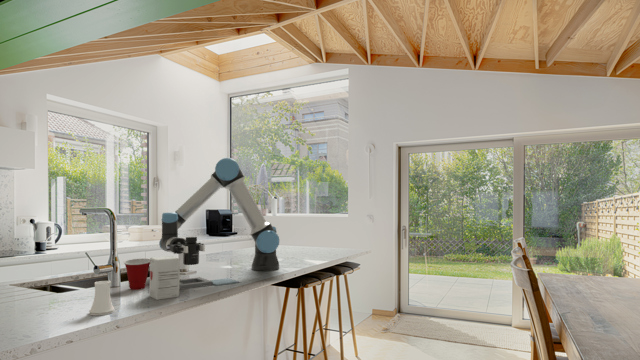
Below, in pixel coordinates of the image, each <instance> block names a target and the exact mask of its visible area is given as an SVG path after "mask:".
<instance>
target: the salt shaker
mask: <svg viewBox="0 0 640 360" xmlns="http://www.w3.org/2000/svg"><path fill="white" fill-rule="evenodd" d="M111 283H112V281H111V280H99V281H95V282H94V298H93V302H92V305H91V307H90V309H89V311H88V315H90V316H104V315H106V316H107V315H109V314H113V313H115V307H114V306H113V303H112V299H111Z"/></svg>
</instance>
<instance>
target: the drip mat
mask: <svg viewBox="0 0 640 360" xmlns="http://www.w3.org/2000/svg"><path fill="white" fill-rule="evenodd" d="M208 280H209V279H208ZM209 281H212V286H215V287H218V286H225V285H233V284H239V283H240V281H239V280H235V279H233V278H229V277H225V278H218V279H211V280H209Z"/></svg>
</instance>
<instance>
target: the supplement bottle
mask: <svg viewBox="0 0 640 360" xmlns="http://www.w3.org/2000/svg"><path fill="white" fill-rule="evenodd" d="M184 240H185V241H186V243H185V244H184V245H183V246H188V253H184V252H183V253H182V256H183V257H182V264H183V265H184V266H192V265H193V266H196V265H199V262H200V251H199V244H198V243H199V242H198V237H197V236H186V237H185V239H184Z"/></svg>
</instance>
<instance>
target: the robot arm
mask: <svg viewBox="0 0 640 360" xmlns="http://www.w3.org/2000/svg"><path fill="white" fill-rule="evenodd" d="M245 179H246V178H245V176H244V174H243V172H242V170H241V169H240V165H239V163H238V161H237V160H235V159H234V158H231V157H223V158H222V159H220V160H219V161H218V162H217V163H216V164H215V167H214V172H212V173H211V175H210V178H209V179H208V180H207V181H206V182H205V183H204V184H203V185H202V186H200V188H199V189H198V190H196V191H195V193H193V194H192V195H191V196H190V197H189V198H188V199H187V200H186V201H185V202H184V203H183V204H181V206H180V207H178V208H177V209H176V210H175V211H174V212H163V213H162V215H161V238H160V240H159V243H158V244H159V248H160V249H161V250H162V251H164V252H166V253H167V252H169V253H173V254H174V255H177V254H178V255H181V254H183V252H184V253H188V246H183V245H184V244H185V243H186V241H185V240H186V239H184V238H182V237H178V235H179V234H178V231H179V229H180V228H181V227H182V225H183V224H185V223H186V221H188V219H190V218H191V217H192V216H193V215H194V214H195V213H196V212H197V211H198V210H199V209H200V208H202V207H203V206H204V204H205V203H207V202H208V201H209V200H210V199H211V198H212V197H213V196H214V195H216V193H217V192H218V191H220V189H226V190H228V191H229V192H230V194H231V196H232V198H233V199H234V201H235V203H236V205H237V206H238V208H239V210H240V212H241V214H242V215H243V217H244V220H245V222H246V223H247V224H248V226H249V227H250V230H251V231H250V236H251V238H252V239H253V241H254V257H253V260H252V264H251V270H252V271H262V272H263V271H276V270H279V269H280V263H279V260H278V256H277V249H278V248H279V246H280V236H279V234H278V233H277V228H276V227H275V226H273V225H272V223H271V222H270V221H269V222H268V221H267V220H266V219H265V217H264V216H263V213H262V212H261V210H260V208H259V206H258V205H257V203H256V201H255V200H254V197H253V196H252V194H251V192H250V191H249V189H248V187H247V185H246V183H245ZM197 243H198V244H199V252H205V251H206V250H205V248H206V246H205V244H204V243H201V242H197Z"/></svg>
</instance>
